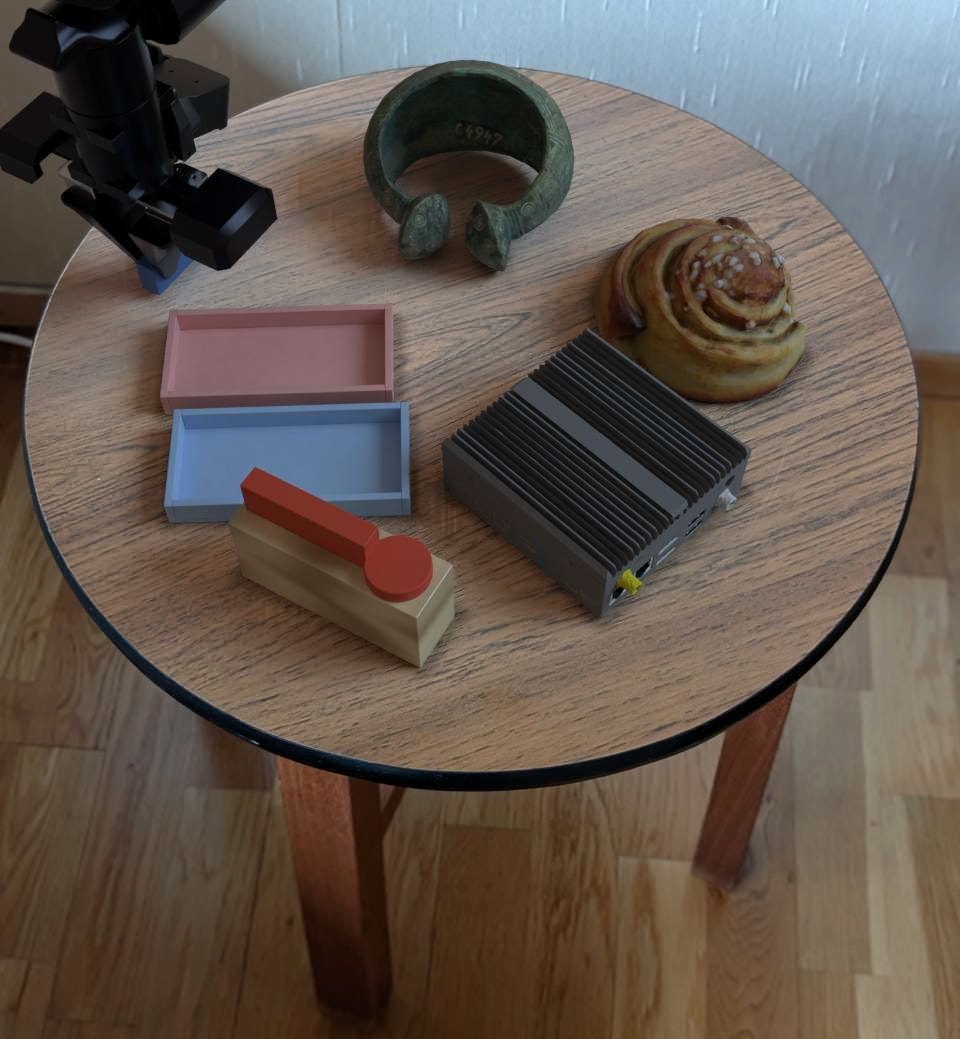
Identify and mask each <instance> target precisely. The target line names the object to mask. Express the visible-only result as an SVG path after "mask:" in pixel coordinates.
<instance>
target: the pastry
mask: <svg viewBox="0 0 960 1039" xmlns="http://www.w3.org/2000/svg"><path fill="white" fill-rule="evenodd" d="M785 263H786V259H785V257H784V256H783V255H781V254H780V253H778V252H775V250H773V248H772V247H771V245H770V244H769V243H767V241H765V240H764V239H762V238H761V237H760V236H759V235H758V234H756V233H755V231H754V230H753V229H752V227H751V226H750V225H749V224H748V222H747V220H744V219H742V218H739V217H735V216H721V217H719V218H718V219H716V220H715V221H714V220H711V219H707V218H677V219H673V220H669V221H665V222H662V223H659V224H656V225H653V226H651V227H648V228H646V229H643V230H641V231H640V232H638V233H637V234H636V235H635V236H634V237H633V238H631V240H630V241H628V242H627V243H626V244H624V245H623V246H621V247H620V248H619V249H618V250H617V251H616V253H614V255H612V257H611V258H610V259H609V260H608V261H607V263H606V265H605V266H604V268H603V270H602V272H601V273H600V275H599V277H598V280H597V283H596V285H595V288H594V292H593V301H592V302H593V303H592V304H593V314H594V317H595V322H596V325H597V328H598V331H599V333H600V337H601V338H602V339H603V340H605V341H606V342H607V343H609V344H610V345H611V346H613V347H614V348H616V349H617V350H618V351H620V352H621V353H622V354H624V355H625V356H626V357H628V358H629V359H630V360H632V361H633V362H635V363H639V364H641V365H642V366H643V367H644V368H645V370H646V371H648V372H649V373H650V374H651V375H652V376H653V377H655V378H656V379H658V380H659V381H660V382H662V383H663V384H664V385H666V386H667V387H668V388H670V389H671V390H672V391H674V392H675V393H676V394H678V395H679V396H683V397H686V398H688V399H690V400H691V399H692V400H697V401H699V402H706V403H718V404H719V403H721V404H724V403H736V402H742V401H743V402H746V401H753V400H757V399H758V398H761V397H763V396H767V395H769V394H770V393H773V391H775V390H777V389H778V387H779V386H780V385H781V384H782V382H783V381H785V380H786V379H787V378H788V377H789V376H791V374H792V373H793V371H794V370H795V368H796V366H797V365H798V364H799V363H800V361H801V360H802V357H803V354H804V352H805V349H806V341H805V338H806V333H807V328H806V325H805V324H804V323H803V322H801V321H798V320H797V321H795V322H794V317H795V314H796V296H795V293H794V289H793V286H792V277H791V275H790V273H789V272H788V270H787V267H786V266H785Z"/></svg>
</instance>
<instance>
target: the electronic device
mask: <svg viewBox="0 0 960 1039" xmlns="http://www.w3.org/2000/svg"><path fill="white" fill-rule="evenodd" d="M560 348H561V349H560V350H559V351H556V352H555V355H551V356H550V358H549V359H545V360H544V363H543V364H539V365H538V368H533V372H530V373H527V376H525V377H523V378H522V379H520V380H519V381H517V382H516V383H515V384H514V385H512V386H511V387H510V388H509V391H504V392H503V396H498V398H497V401H496V400H493V401H492V403H491V405H486V410H480V415H479V414H475V415H474V419H469V420H468V423H467V424H466V423H464V424H463V425H462V428H457V429H456V433H450V437H447V438H446V437H445V438H444V439H443V440H442V441H440V442H441V443H440V447H441V458H442V459H441V460H442V462H441V463H442V482H443V483H442V484H443V487H444V488H445V489H446V490H447V491H449V492H450V494H452V495H453V496H454V497H455V498H457V499H458V500H459V501H460V502H462V503H463V505H465V506H466V507H467V508H468V509H470V510H471V511H472V512H473V513H474V514H475V515H477V516H478V517H479V518H480V519H481V520H483V521H484V522H485V523H486V524H487V525H488V526H490V528H492V529H493V530H495V532H497V533H498V534H499V535H500V536H501V537H503V538H504V539H505V540H506V541H507V542H509V543H510V544H511V545H512V546H513V547H514V548H516V549H517V550H518V551H519V552H520V553H522V554H523V555H524V556H525V557H526V558H528V559H529V560H530V561H531V562H532V563H533V564H535V565H536V566H537V567H538V568H539V569H540V570H542V571H543V572H544V574H546V575H548V576H549V577H550V578H551V579H552V580H554V581H555V582H556V583H557V584H558V585H559V586H561V587H562V588H563V589H564V590H565V591H566V592H568V593H569V594H570V595H571V596H572V597H574V598H575V599H576V600H577V601H578V602H580V603H581V604H582V605H583V606H584V607H585V608H586V609H587V610H589V611H590V612H591V613H592V614H594V615H595V616H596V617H597V618H598V619H601V618H603V617H604V616H605V615H606V614H607V613H608V612H610V610H612V608H614V607H615V606H616V605H617V604H618V603H620V601H621V600H622V599H623V598H625V597H626V596H627V595H628V594H630V595H631V596H634V595H635V594H636V593H637V592H638V591H639V590H640V589H641V587H642V585H643V582H642V581H644V580H645V579H646V577H648V576H649V575H650V574H651V573H652V572H653V571H655V569H657V568H658V567H660V565H661V564H663V562H664V561H666V560H667V559H668V558H669V557H670V556H671V555H672V554H673V553H674V552H676V551H677V550H678V549H679V548H680V547H681V546H682V545H683V544H684V543H686V542H687V541H688V540H689V539H690V538H691V537H692V536H693V535H694V534H695V533H697V531H698V530H699V529H701V528H702V527H703V526H705V524H706V523H707V522H708V521H709V520H710V519H712V518H713V517H714V516H715V515H716V514H717V513H718V512H720V511H721V509H723V510H724V511H729V510H730V509H732V508H733V506H734V505H735V504H736V502H737V499H738V498H737V495H738V494H739V493H740V490H741V486H742V484H743V479H744V476H745V472H746V469H747V466H748V462H749V459H750V458H751V454H752V451H753V449H752V448H751V447H749V445H747V444H746V443H744V442H743V441H742V440H740V439H739V438H737V437H736V436H735V435H733V434H732V432H731V433H730V432H729V430H727V429H725V428H724V427H723V426H721V425H720V424H719V423H717V422H716V421H714V419H712V418H710V417H709V416H708V415H707V414H705V413H704V412H702V411H701V410H700V409H698V408H697V407H695V405H693V404H692V403H690V402H689V401H687V400H686V399H685V398H684V397H682V395H680V394H678V393H677V392H675V391H673V390H672V389H670V388H668V387H667V386H666V385H664V384H663V383H662V382H660V381H659V380H658V379H657V378H656V377H655V376H653V375H652V373H650V372H649V371H648V370H646V369H644V368H642V367H641V366H640V365H639V364H637V362H635V361H633V360H630V359H629V358H628V357H626V356H625V355H624V354H622V353H621V352H620V351H618V350H617V349H616V348H614V347H613V346H611V345H610V344H609V343H607V342H606V341H605V340H603V339H602V337H601V336H600V335H598V334H596V333H595V332H594V330H593V331H592V330H591V329H590V328H589V327H586V328H585V329H584V330H582V333H581V334H577V338H572V339H571V342H567V343H566V346H563V347H560Z"/></svg>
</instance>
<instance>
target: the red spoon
mask: <svg viewBox="0 0 960 1039" xmlns="http://www.w3.org/2000/svg"><path fill="white" fill-rule="evenodd" d="M240 488H241V491H242V495H243V499H244V503H245V506H246V510H248V511H250V512H252V513H254V514H256V515H258V516H260V517H262V518H264V519H266V520H268V521H270V522H272V523H274V524H276V525H278V526H280V527H282V528H284V529H286V530H288V531H290V532H292V533H294V534H296V535H298V536H300V537H302V538H304V539H306V540H308V541H310V542H312V543H314V544H316V545H318V546H320V547H322V548H324V549H326V550H328V551H330V552H332V553H334V554H336V555H338V556H340V557H342V558H344V559H346V560H348V561H350V562H352V563H353V564H355V565H357V566H359V567H361V568H363V569H364V576H365V581H366V584H367V586H368V587H369V589H370V590H371V591H372V592H373V593H374V594H375V595H376V596H378V597H379V598H381V599H383V600H386V601H390V602H406V601H409V600H412V599H415V598H416V597H418V596H420V595H421V594H422V593H423V592H424V591H425V590H426V589H427V588H428V586H429V585H430V583H431V580H432V577H433V562H432V557H431V554H432V553H431V552H430V550H429V548H428V547H427V546H426V544H424V543H423V542H422V541H420V540H419V539H417V538H414V537H412V536H409V535H404V534H394V535H393V536H389V537H385V538H383V539H381V540H380V537H379V529H380V528H379V527H378V525H375V524H374V523H371V522H369V521H367V520H365V519H364V518H362V517H357V516H355V515H353V514H351V513H349V512H347V511H345V510H342V509H340V508H338V507H336V506H334V505H332V504H330V503H328V502H326V501H324V500H322V499H320V498H318V497H316V496H314V495H312V494H310V493H308V492H306V491H304V490H302V489H300V488H298V487H296V486H294V485H292V484H290V483H288V482H285V481H283V480H281V479H279V478H277V477H275V476H273V475H271V474H269V473H267V472H265V471H263V470H261V469H259V468H257V467H254V468H253V470H252V471H251V472H250V473H249V475H248V476H247V477H246V478H245V479H244V481H243V482H242V483H241V484H240ZM378 528H379V529H378Z"/></svg>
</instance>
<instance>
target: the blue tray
mask: <svg viewBox="0 0 960 1039" xmlns="http://www.w3.org/2000/svg"><path fill="white" fill-rule="evenodd" d="M172 416H173V417H172V426H171V435H170V445H169V453H168V463H167V471H166V479H165V480H166V481H165V490H164V499H163V500H164V501H163V508H164V511H165V514H166V516H167V519H168V523H169V524H184V523H213V522H216V523H217V522H228V521H229V520H230V519H231V518H232V516H233V515H234V514H235V513H236V512H237V510H238V509H239V508H240V507H241V505H242V504H243V503H244V499H243V495H242V491H241V488H240V484H241V483H242V482H243V481H244V479H245V478H246V477H247V476H248V475H249V473H250V472H251V471H252V470H253V468H254V467H257V468H259V469H261V470H263V471H265V472H267V473H269V474H271V475H273V476H275V477H277V478H279V479H281V480H283V481H285V482H288V483H290V484H292V485H294V486H296V487H298V488H300V489H302V490H304V491H306V492H308V493H310V494H312V495H314V496H316V497H318V498H320V499H322V500H324V501H326V502H328V503H330V504H332V505H334V506H336V507H338V508H340V509H342V510H345V511H347V512H349V513H351V514H353V515H355V516H357V517H359V518H365V517H389V516H390V517H391V516H392V517H393V516H411V514H412V510H411V509H412V508H411V507H412V506H411V500H412V499H411V440H410V439H411V438H410V437H411V436H410V434H411V433H410V409H409V401H398V402H396V401H394V402H393V403H362V404H330V405H299V406H267V407H236V408H204V409H182V410H181V409H175V410H174V414H173V415H172Z"/></svg>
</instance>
